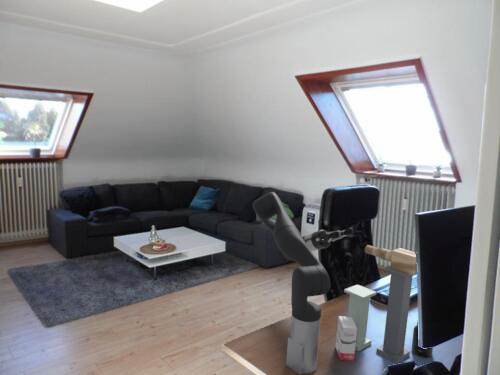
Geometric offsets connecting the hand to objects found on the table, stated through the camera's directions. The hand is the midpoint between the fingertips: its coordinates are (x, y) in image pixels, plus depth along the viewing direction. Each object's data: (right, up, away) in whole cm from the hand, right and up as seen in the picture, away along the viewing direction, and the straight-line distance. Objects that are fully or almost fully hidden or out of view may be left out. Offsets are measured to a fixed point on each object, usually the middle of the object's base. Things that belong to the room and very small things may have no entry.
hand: (345, 232), depth 153 cm
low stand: (+1, -39, -11) cm, 41 cm away
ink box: (-5, -40, -18) cm, 44 cm away
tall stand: (+12, -40, -17) cm, 45 cm away
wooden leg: (+11, -9, -18) cm, 23 cm away
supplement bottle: (+23, -41, -15) cm, 49 cm away
